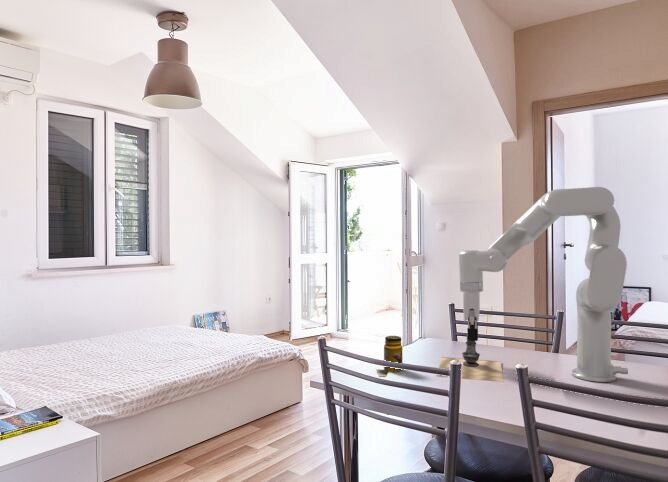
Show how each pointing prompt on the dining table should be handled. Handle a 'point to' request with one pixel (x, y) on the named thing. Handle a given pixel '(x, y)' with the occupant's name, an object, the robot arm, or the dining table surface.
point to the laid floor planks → (480, 375)
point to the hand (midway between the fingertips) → (473, 337)
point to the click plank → (483, 366)
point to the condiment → (391, 354)
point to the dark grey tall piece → (470, 354)
